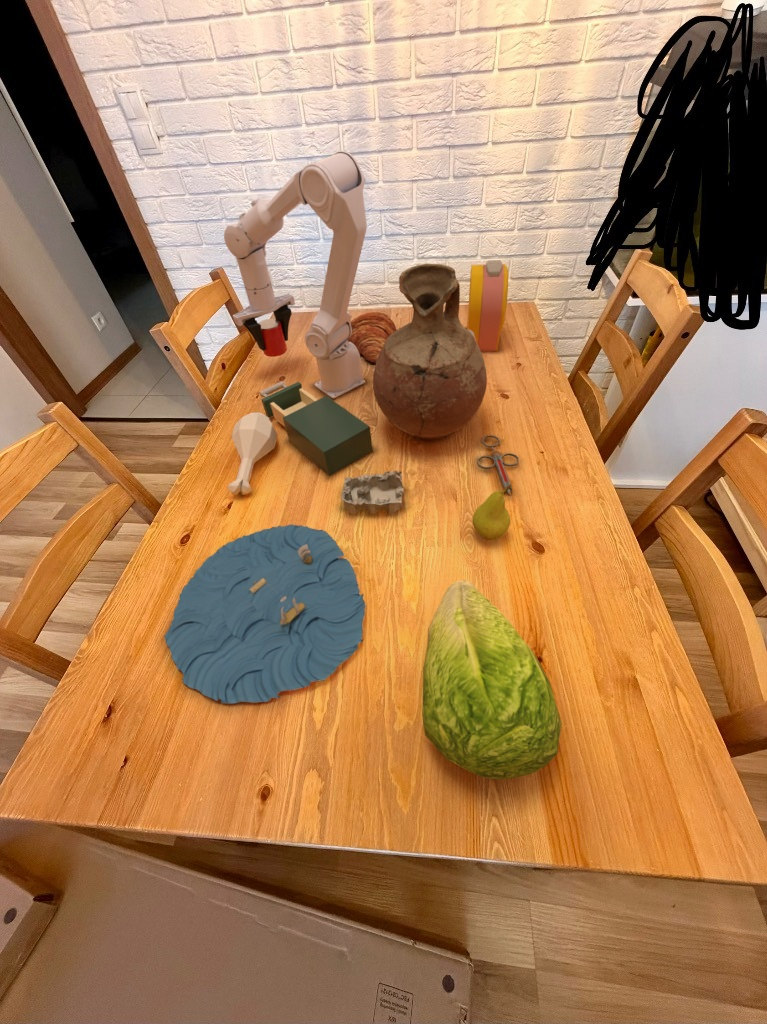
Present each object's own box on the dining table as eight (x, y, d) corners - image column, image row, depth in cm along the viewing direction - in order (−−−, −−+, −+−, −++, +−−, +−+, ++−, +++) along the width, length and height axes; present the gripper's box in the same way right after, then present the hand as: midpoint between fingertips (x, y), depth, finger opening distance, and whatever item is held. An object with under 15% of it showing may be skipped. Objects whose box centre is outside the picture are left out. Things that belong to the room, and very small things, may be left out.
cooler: (289, 441, 95) (282, 417, 91) (330, 419, 99) (326, 395, 95) (329, 476, 87) (324, 452, 83) (372, 451, 91) (369, 426, 87)
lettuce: (521, 603, 67) (511, 538, 59) (578, 786, 49) (576, 729, 40) (422, 622, 70) (398, 562, 61) (440, 803, 51) (410, 753, 43)
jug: (360, 446, 92) (339, 294, 70) (398, 388, 105) (391, 245, 83) (466, 469, 86) (479, 309, 64) (493, 404, 99) (511, 252, 77)
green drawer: (255, 407, 103) (250, 390, 100) (291, 389, 107) (287, 373, 103) (299, 444, 93) (294, 427, 90) (336, 424, 97) (333, 406, 93)
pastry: (416, 341, 119) (416, 310, 113) (377, 367, 112) (374, 336, 106) (369, 324, 128) (366, 295, 122) (329, 348, 120) (324, 318, 114)
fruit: (467, 523, 77) (472, 470, 68) (502, 519, 77) (511, 465, 68) (475, 550, 73) (481, 498, 64) (511, 545, 73) (523, 493, 64)
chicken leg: (215, 500, 86) (215, 476, 79) (237, 426, 95) (239, 400, 88) (260, 509, 88) (264, 487, 81) (277, 436, 97) (282, 411, 90)
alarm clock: (500, 354, 112) (510, 275, 98) (466, 354, 113) (471, 276, 100) (498, 325, 122) (507, 250, 108) (467, 325, 123) (472, 251, 109)
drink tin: (279, 342, 113) (272, 315, 108) (291, 350, 110) (285, 323, 105) (259, 351, 111) (251, 324, 106) (271, 359, 108) (263, 332, 103)
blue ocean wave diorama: (296, 758, 56) (285, 748, 52) (131, 650, 67) (111, 634, 63) (407, 571, 71) (406, 552, 67) (258, 508, 82) (249, 489, 78)
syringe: (489, 507, 79) (490, 500, 78) (469, 441, 91) (469, 434, 90) (534, 502, 79) (536, 496, 78) (507, 437, 91) (508, 430, 90)
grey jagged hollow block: (405, 486, 84) (404, 469, 81) (401, 517, 79) (401, 500, 76) (347, 484, 85) (345, 468, 82) (341, 514, 80) (337, 498, 77)
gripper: (277, 269, 104) (291, 327, 114) (219, 290, 98) (239, 349, 108) (293, 277, 100) (306, 337, 110) (234, 299, 95) (253, 360, 105)
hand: (274, 344), depth 109 cm, fingers closed on drink tin, 5 cm apart
